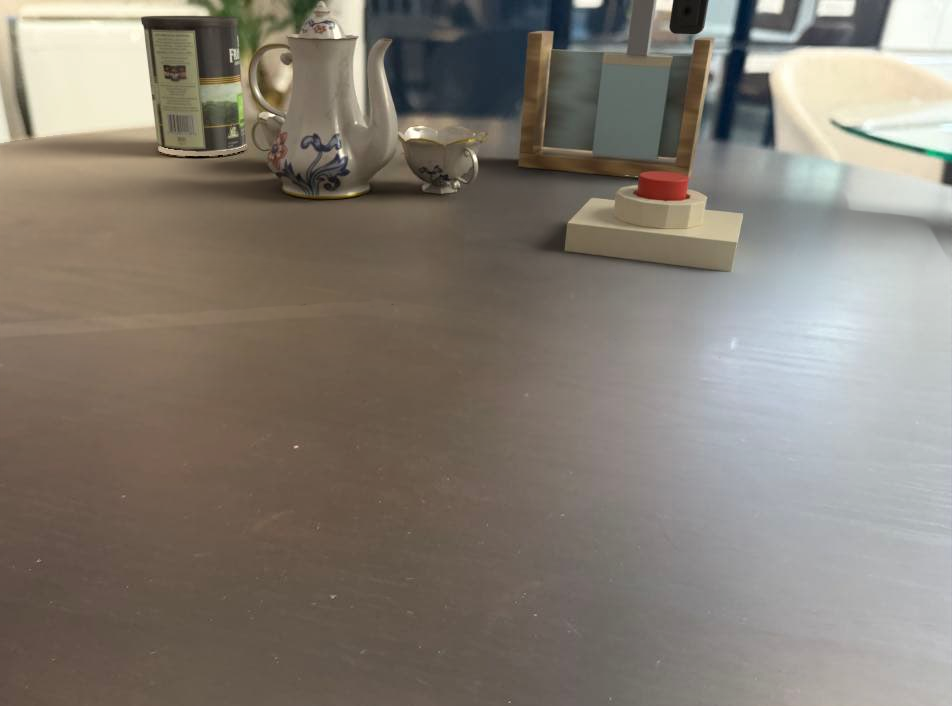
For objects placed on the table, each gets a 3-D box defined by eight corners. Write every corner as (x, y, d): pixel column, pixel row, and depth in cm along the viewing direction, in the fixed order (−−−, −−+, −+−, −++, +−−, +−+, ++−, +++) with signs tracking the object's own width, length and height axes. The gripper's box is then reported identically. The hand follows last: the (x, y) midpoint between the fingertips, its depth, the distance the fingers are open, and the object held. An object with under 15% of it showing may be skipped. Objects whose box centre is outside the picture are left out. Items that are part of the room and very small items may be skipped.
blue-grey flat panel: (658, 158, 88) (685, -23, 80) (656, 160, 87) (683, -23, 79) (594, 152, 90) (614, -24, 83) (591, 155, 89) (611, -24, 81)
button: (687, 197, 64) (691, 173, 63) (682, 207, 61) (686, 182, 60) (640, 192, 65) (643, 169, 64) (632, 201, 62) (636, 178, 61)
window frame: (692, 174, 90) (714, 37, 84) (687, 182, 86) (711, 39, 80) (529, 159, 96) (540, 30, 90) (518, 166, 92) (528, 32, 86)
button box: (738, 240, 66) (748, 190, 65) (731, 272, 59) (742, 216, 57) (588, 223, 70) (593, 175, 69) (564, 251, 63) (569, 198, 61)
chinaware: (505, 201, 84) (525, 19, 78) (434, 220, 70) (450, 0, 64) (275, 170, 95) (276, 9, 89) (174, 181, 81) (167, -9, 75)
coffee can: (244, 141, 103) (235, 15, 97) (249, 157, 94) (240, 19, 88) (157, 143, 101) (143, 14, 94) (154, 159, 92) (138, 18, 85)
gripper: (804, -323, 43) (738, 40, 51) (801, -259, 54) (747, 32, 62) (656, -310, 46) (614, 35, 54) (682, -251, 57) (644, 28, 65)
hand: (685, 33), depth 58 cm, fingers closed
